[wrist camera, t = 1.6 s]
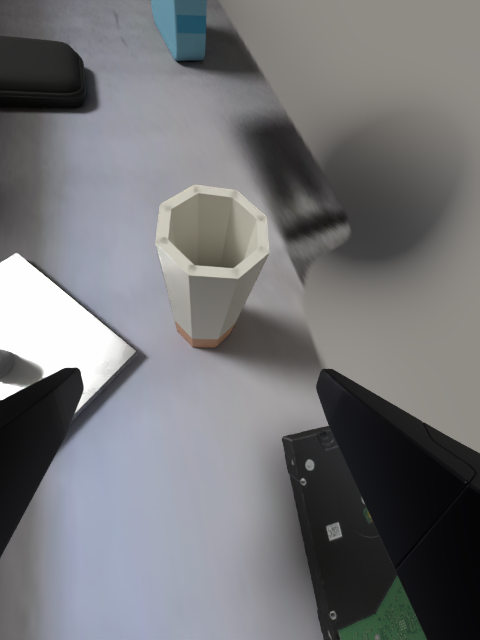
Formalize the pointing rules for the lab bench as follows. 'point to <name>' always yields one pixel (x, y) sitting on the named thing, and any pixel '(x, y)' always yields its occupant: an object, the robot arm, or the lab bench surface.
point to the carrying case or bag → (40, 74)
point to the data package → (182, 27)
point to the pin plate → (52, 335)
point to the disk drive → (344, 547)
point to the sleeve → (209, 259)
